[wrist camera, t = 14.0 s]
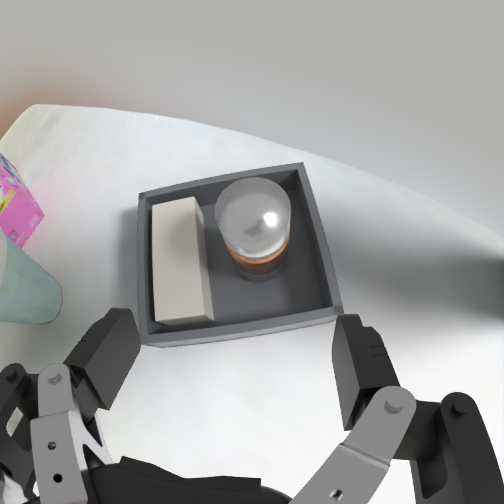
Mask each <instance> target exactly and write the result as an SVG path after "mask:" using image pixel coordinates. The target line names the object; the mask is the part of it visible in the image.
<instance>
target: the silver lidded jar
mask: <svg viewBox="0 0 504 504" xmlns="http://www.w3.org/2000/svg"><path fill="white" fill-rule="evenodd" d="M290 215H291V205H290V200H289V197H288V196H287V194H286V192H285V191H284V190H283V189H282V188H281V187H280V186H279V185H278V184H276V183H275V182H273V181H271V180H268V179H265V178H259V177H250V178H244V179H241V180H238V181H236V182H234V183H232V184H230V185H229V186H228V187H226V188H225V189H224V190H223V192H222V193H221V194H220V196H219V197H218V199H217V202H216V205H215V218H216V222H217V224H218V227H219V229H220V231H221V234H222V238H223V240H224V243H225V245H226V247H227V250H228V252H229V254H230V257H231V259H232V261H233V262H234V265H235V267H236V269H237V271H238V272H239V273H240V275H241V276H243V277H244V278H245V279H247V280H249V281H252V282H260V283H261V282H267V281H270V280H272V279H274V278H276V277H277V276H278V275H279V274H280V273H281V272H282V271H283V269H284V267H285V265H286V261H287V253H288V246H289V235H290Z"/></svg>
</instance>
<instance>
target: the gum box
mask: <svg viewBox="0 0 504 504" xmlns="http://www.w3.org/2000/svg"><path fill="white" fill-rule="evenodd" d="M43 217H44V214H43V212H42V211H41V209H40V208H39V206H38V204H37V203H36V201H35V200H34V198H33V197H32V195H31V193H30V192H29V190H28V189H27V187H26V185H25V183H24V182H23V180H22V179H21V177H20V175H19V173H18V172H17V170H16V168H15V167H14V166H13V165H12V164H11V163H10V162H9V161H8V160H7V159H6V158H5V157H4V156H3V155H2V154H1V153H0V227H1V228H2V231H3V232H4V233H5V234H6V235H7V236H8V237H9V238H10V239H11V240H12V241H13V242H14V243H15V244H16V245H17V246H18V247H19V248H20V249H21V248H22V246H23V245H24V243H25V242H26V240H27V239H28V238H29V236H30V235H31V234H32V232H33V231H34V229H35V228H36V226H37V225H38V224H39V222H40V221H41V220H42V218H43Z"/></svg>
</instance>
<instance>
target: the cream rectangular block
mask: <svg viewBox="0 0 504 504" xmlns="http://www.w3.org/2000/svg"><path fill="white" fill-rule="evenodd" d="M152 261H153V288H154V306H155V320H156V321H157V322H160V323H162V324H165V325H168V326H180V325H188V324H196V323H204V322H211V321H214V316H213V308H212V299H211V291H210V282H209V272H208V263H207V253H206V243H205V232H204V220H203V214H202V212H201V210H200V208H199V205H198V203H197V201H196V199H195V197H194V196H193V197H189V198H184V199H179V200H174V201H170V202H165V203H161V204H157V205H152Z"/></svg>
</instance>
